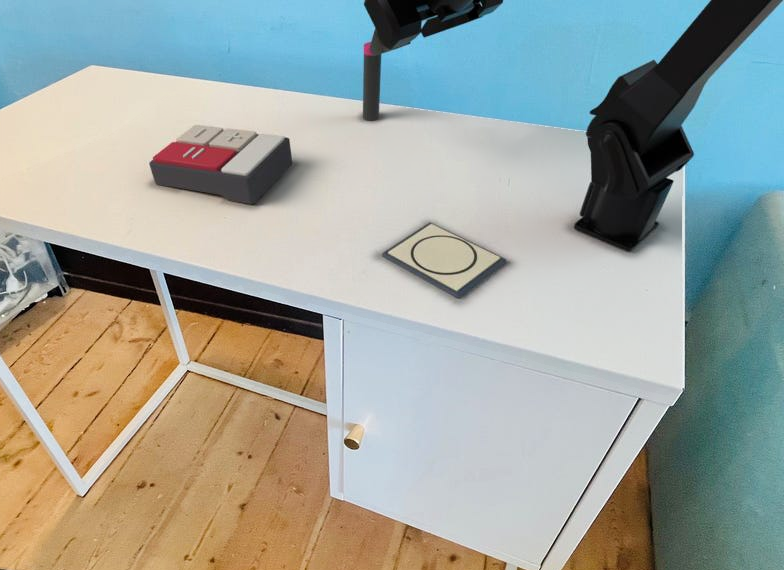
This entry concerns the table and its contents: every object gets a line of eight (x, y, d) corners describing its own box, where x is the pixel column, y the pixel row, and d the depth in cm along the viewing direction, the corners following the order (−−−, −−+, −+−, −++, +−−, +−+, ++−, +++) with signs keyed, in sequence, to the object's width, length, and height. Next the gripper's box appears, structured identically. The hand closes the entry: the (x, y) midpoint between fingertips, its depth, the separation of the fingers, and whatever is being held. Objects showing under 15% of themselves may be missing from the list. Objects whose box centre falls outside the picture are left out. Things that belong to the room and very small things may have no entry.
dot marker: (382, 116, 84) (385, 44, 77) (371, 122, 83) (373, 49, 76) (370, 112, 85) (372, 40, 78) (358, 117, 84) (359, 45, 77)
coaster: (505, 262, 59) (507, 257, 58) (458, 298, 55) (459, 293, 55) (429, 225, 64) (430, 220, 64) (381, 256, 61) (382, 251, 60)
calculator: (193, 120, 78) (289, 131, 72) (200, 150, 81) (293, 163, 76) (145, 157, 71) (247, 172, 66) (155, 188, 74) (253, 205, 69)
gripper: (503, -133, 62) (420, -31, 76) (379, -106, 55) (312, 1, 69) (547, -37, 63) (457, 46, 77) (431, 2, 56) (355, 86, 70)
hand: (397, 43), depth 73 cm, fingers open, 9 cm apart
